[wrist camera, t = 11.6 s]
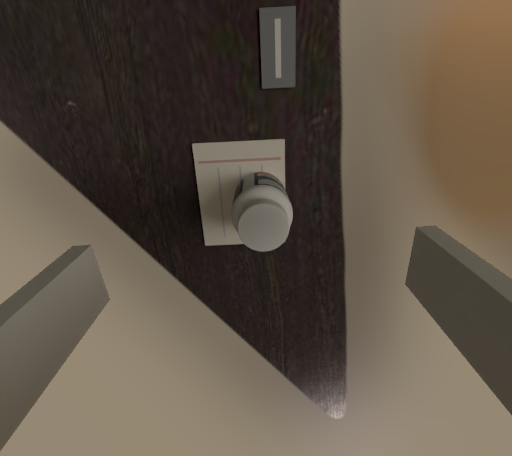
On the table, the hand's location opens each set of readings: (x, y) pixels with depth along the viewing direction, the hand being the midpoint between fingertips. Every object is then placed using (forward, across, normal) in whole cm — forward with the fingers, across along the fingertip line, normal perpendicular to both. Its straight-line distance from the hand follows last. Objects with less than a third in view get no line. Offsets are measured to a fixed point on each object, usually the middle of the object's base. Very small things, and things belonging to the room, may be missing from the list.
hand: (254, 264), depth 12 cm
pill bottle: (+18, 0, -3) cm, 19 cm away
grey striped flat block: (+19, +3, +10) cm, 22 cm away
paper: (+19, -2, -3) cm, 19 cm away
